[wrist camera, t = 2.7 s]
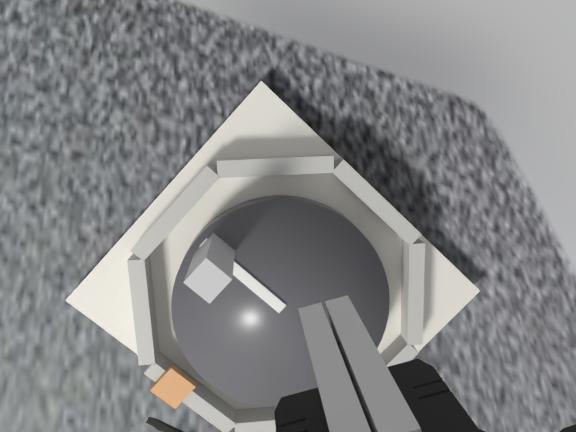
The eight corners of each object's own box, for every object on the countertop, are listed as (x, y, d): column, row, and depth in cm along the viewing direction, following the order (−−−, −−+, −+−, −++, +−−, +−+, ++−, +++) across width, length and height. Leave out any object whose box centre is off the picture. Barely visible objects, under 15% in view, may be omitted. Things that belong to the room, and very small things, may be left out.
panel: (473, 285, 40) (495, 302, 36) (291, 465, 42) (295, 498, 38) (260, 81, 35) (262, 78, 31) (68, 297, 37) (49, 316, 34)
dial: (421, 287, 38) (469, 334, 30) (285, 424, 39) (295, 505, 31) (274, 150, 35) (282, 161, 26) (132, 305, 36) (98, 361, 28)
